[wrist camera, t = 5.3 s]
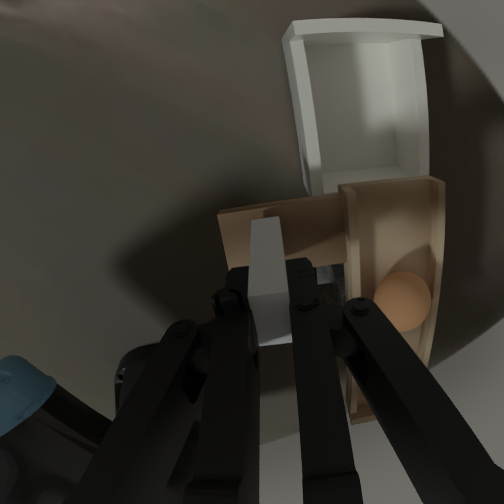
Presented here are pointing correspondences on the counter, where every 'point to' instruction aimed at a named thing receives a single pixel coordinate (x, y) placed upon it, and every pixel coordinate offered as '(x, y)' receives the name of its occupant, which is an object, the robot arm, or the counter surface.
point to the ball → (403, 299)
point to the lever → (359, 245)
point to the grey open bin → (359, 99)
